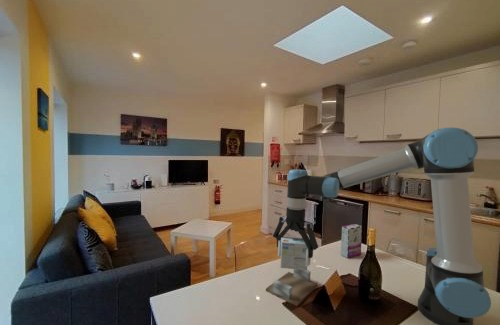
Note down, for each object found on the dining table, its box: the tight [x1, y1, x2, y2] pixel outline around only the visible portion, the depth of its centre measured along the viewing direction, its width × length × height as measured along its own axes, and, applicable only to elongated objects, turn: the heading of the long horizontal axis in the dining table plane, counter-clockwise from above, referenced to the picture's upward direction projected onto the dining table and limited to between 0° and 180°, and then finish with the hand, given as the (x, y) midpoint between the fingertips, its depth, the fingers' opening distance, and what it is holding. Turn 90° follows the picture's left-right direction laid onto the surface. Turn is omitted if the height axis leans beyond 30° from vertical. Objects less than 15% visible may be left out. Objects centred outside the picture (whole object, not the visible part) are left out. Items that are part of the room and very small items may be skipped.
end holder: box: [265, 269, 319, 307], centre depth 97 cm, size 14×18×5 cm
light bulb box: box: [280, 236, 308, 270], centre depth 96 cm, size 11×7×11 cm, turn 84°
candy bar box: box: [340, 223, 363, 259], centre depth 131 cm, size 11×5×16 cm, turn 119°
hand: (293, 259), depth 96 cm, fingers closed on light bulb box, 12 cm apart
